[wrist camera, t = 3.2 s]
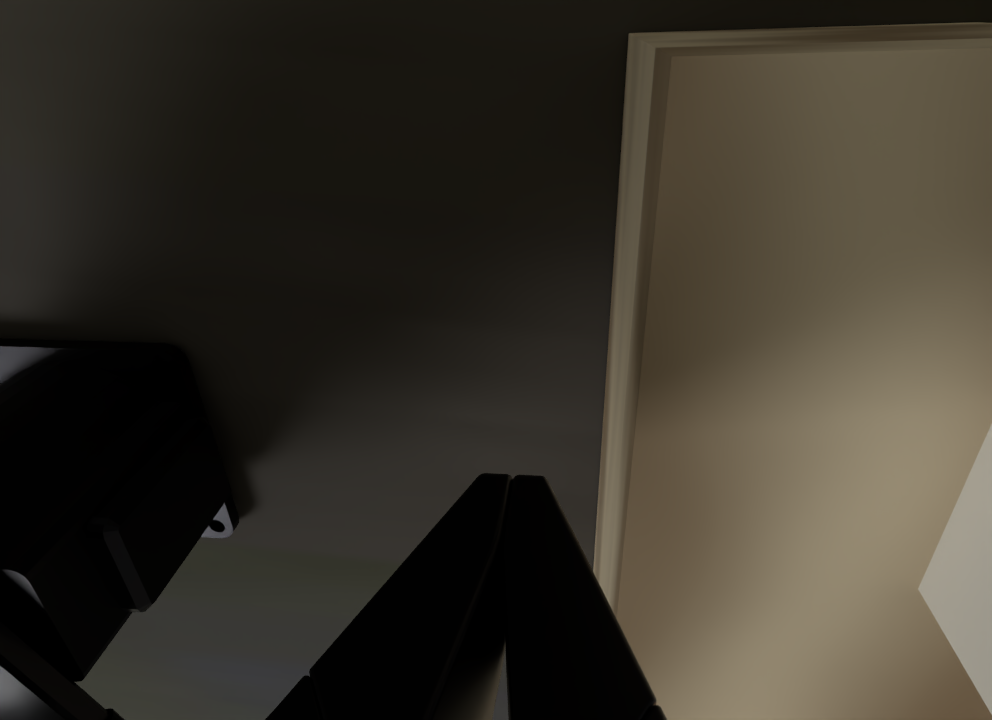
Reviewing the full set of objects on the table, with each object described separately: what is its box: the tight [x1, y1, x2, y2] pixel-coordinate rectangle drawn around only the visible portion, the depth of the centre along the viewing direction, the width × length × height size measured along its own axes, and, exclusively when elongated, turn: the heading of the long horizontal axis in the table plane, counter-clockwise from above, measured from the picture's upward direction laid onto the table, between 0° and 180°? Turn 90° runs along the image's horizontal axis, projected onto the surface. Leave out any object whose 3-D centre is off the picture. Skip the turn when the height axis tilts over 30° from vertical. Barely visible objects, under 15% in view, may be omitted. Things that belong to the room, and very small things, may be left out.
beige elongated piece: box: [593, 22, 992, 720], centre depth 13 cm, size 11×20×6 cm, turn 2°
